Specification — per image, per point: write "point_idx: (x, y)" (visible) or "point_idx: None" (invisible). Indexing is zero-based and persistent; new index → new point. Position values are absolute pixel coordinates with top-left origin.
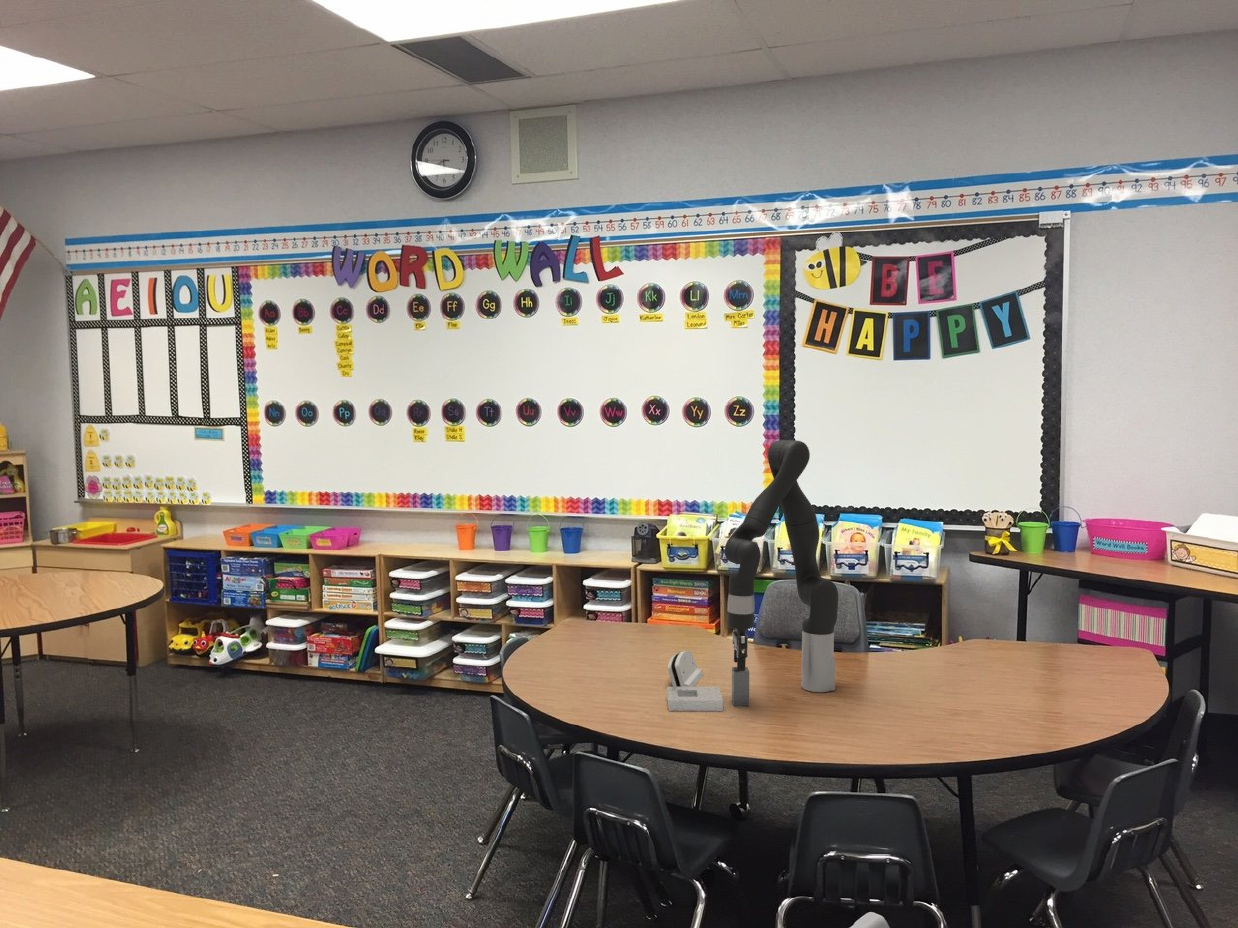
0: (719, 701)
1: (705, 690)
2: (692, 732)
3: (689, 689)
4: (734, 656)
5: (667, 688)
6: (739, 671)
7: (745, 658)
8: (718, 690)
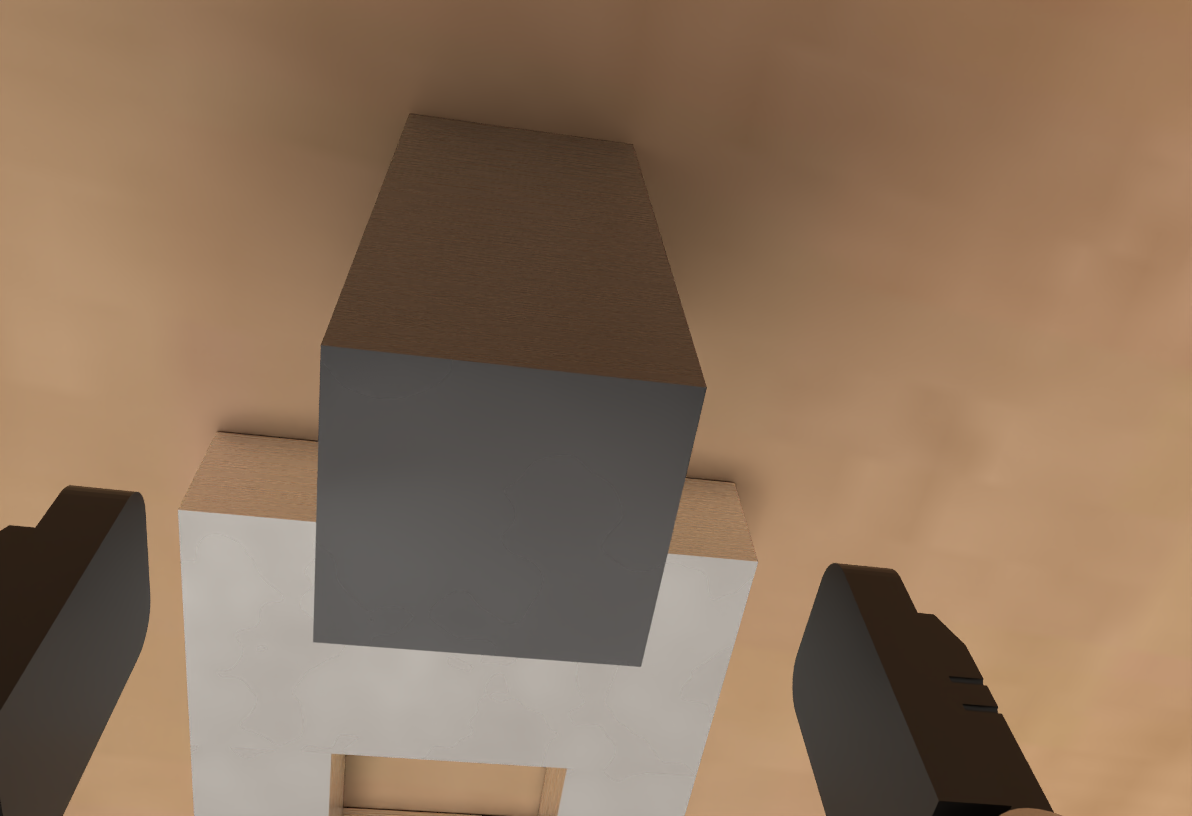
0: (747, 589)
1: (344, 673)
2: (1177, 792)
3: (302, 807)
4: (98, 730)
5: None
6: (644, 569)
7: (1006, 799)
8: None
